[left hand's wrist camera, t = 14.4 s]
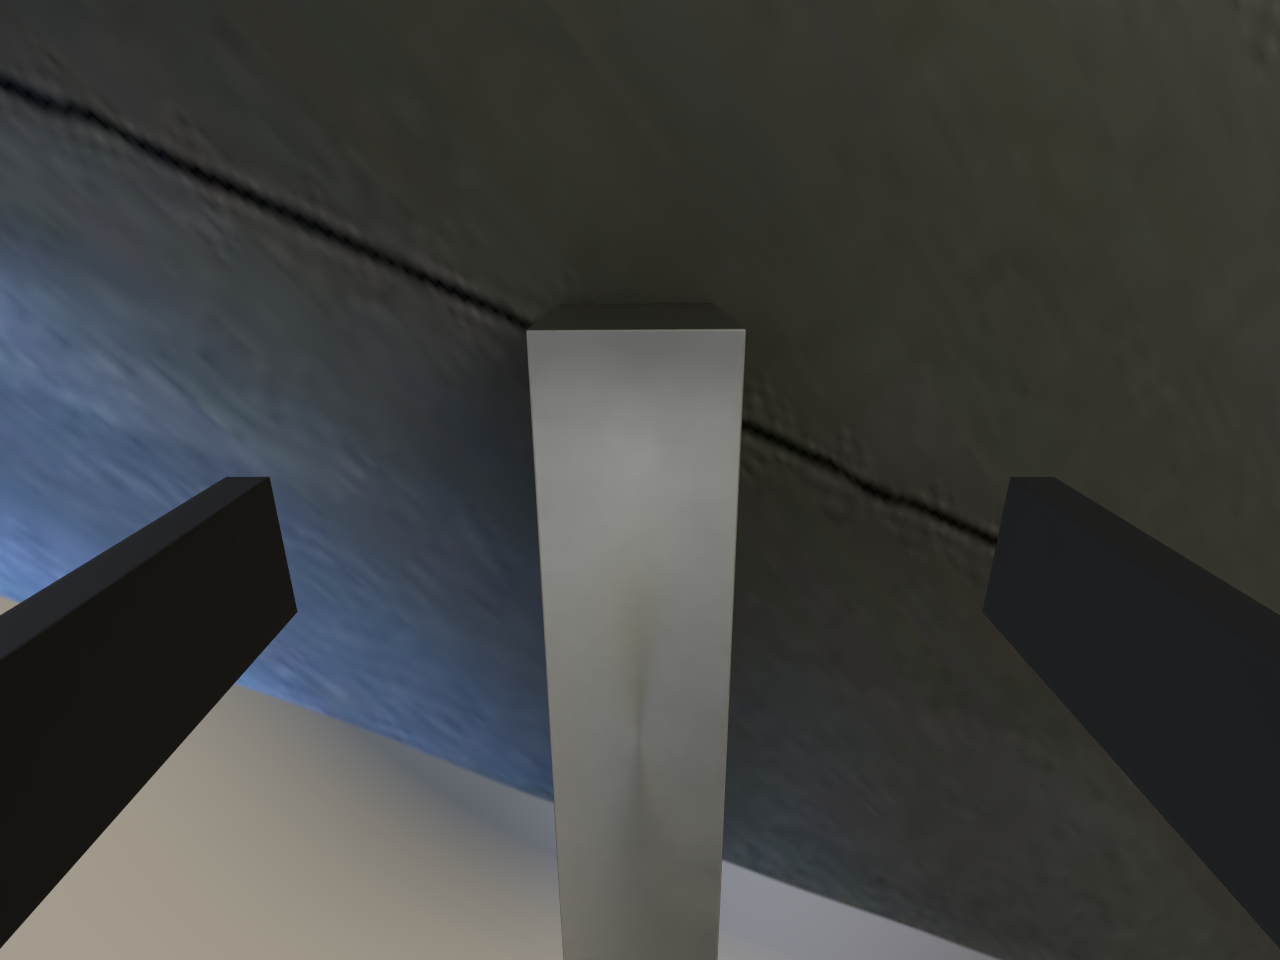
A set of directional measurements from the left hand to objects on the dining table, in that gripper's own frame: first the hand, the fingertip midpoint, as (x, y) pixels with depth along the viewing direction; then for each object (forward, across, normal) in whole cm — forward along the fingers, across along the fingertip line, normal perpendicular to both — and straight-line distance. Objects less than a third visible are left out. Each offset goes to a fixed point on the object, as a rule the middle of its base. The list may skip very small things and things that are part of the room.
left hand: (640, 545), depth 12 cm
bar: (+15, 0, -11) cm, 19 cm away
